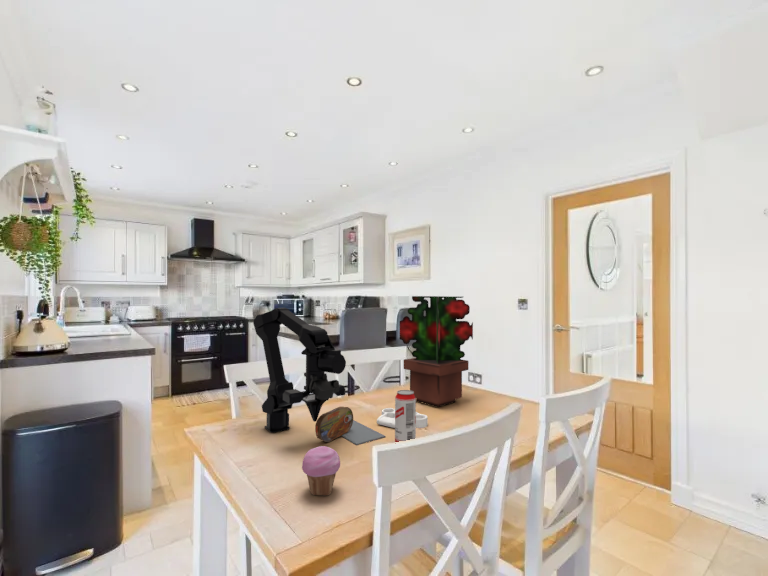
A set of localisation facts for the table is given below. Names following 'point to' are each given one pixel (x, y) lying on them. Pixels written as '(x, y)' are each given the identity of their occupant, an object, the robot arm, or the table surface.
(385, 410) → the white fidget spinner
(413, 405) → the beer can
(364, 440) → the mat
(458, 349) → the potted plant
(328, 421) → the tin
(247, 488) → the table surface
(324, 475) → the cupcake
